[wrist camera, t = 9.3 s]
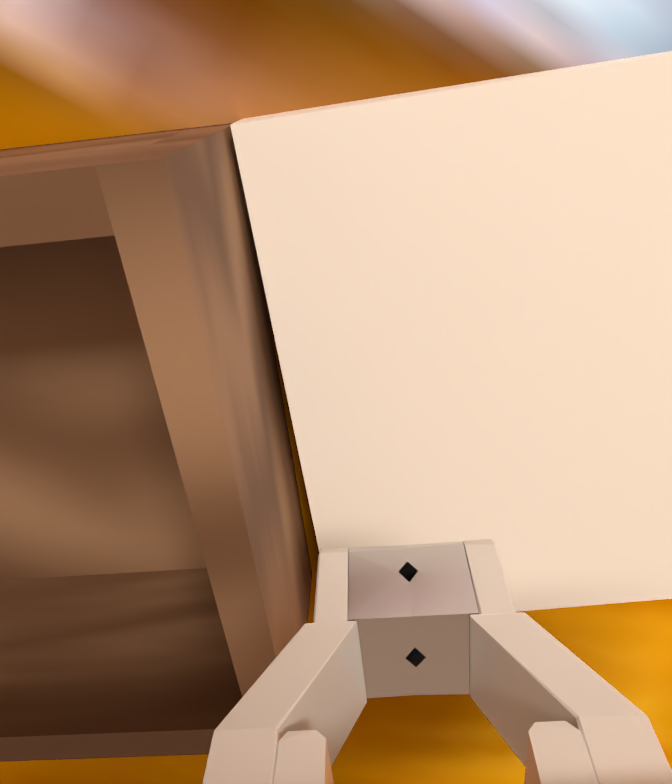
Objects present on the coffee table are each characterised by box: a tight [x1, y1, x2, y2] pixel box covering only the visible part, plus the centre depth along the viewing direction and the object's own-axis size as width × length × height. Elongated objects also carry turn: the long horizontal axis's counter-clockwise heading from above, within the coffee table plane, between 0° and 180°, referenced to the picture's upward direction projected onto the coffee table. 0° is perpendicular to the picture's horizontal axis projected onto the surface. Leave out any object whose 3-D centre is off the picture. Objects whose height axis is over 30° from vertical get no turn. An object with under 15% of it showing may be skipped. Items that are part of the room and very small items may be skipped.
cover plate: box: [230, 51, 672, 612], centre depth 16 cm, size 15×15×2 cm
